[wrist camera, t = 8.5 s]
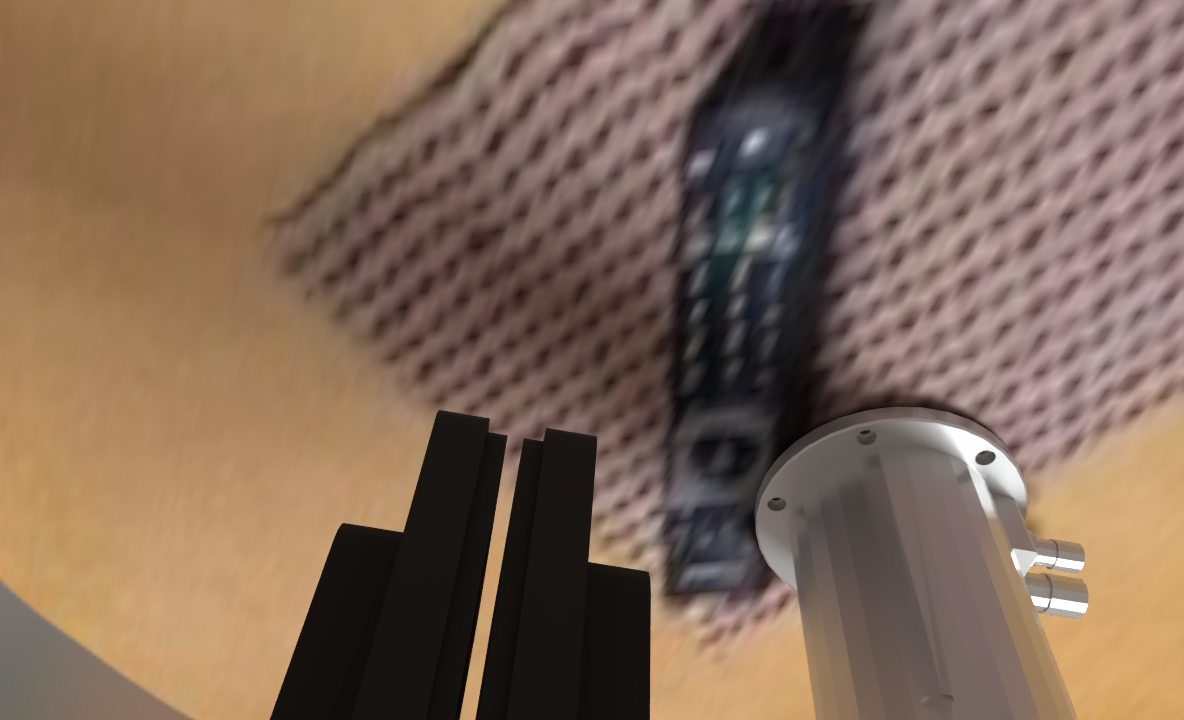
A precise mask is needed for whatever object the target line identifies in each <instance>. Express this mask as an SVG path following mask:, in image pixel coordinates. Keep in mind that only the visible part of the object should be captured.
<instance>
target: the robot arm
mask: <svg viewBox="0 0 1184 720" xmlns="http://www.w3.org/2000/svg"><path fill="white" fill-rule="evenodd" d="M489 422H490V419H489V418H483V417H477V416H471V415H465V414H459V413H453V412H447V411H441V410H439V411H438V412H437V415H436V418H435V422H434V425H433V429H432V433H431V436H430V440H429V443H428V447H427V450H426V454H425V458H424V461H423V465H422V468H421V472H420V475H419V479H418V483H417V486H416V490H415V493H414V497H413V500H412V504H411V508H410V511H409V515H408V518H407V522H406V525H405V529H404V532H397V531H390V530H384V529H378V528H371V527H365V526H359V525H353V524H346V523H342V524H341V526H340V527H339V529H338V531H337V533H336V536H335V538H334V540H333V543H332V546H331V549H330V551H329V554H328V557H327V560H326V563H325V566H324V568H323V571H322V574H321V577H320V580H319V583H318V585H317V588H316V591H315V594H314V597H313V599H312V602H311V605H310V608H309V611H308V614H307V616H306V619H305V622H304V625H303V628H302V631H301V633H300V636H299V639H298V642H297V645H296V647H295V650H294V653H293V656H292V659H291V662H290V664H289V667H288V670H287V673H286V676H285V678H284V681H283V684H282V687H281V690H280V693H279V695H278V698H277V701H276V704H275V707H274V710H273V712H272V715H271V718H270V720H460V714H461V709H462V703H463V698H464V692H465V687H466V681H467V676H468V670H469V665H470V659H471V654H472V648H473V643H474V637H475V631H476V626H477V620H478V614H479V608H480V602H481V596H482V590H483V584H484V578H485V572H486V565H487V559H488V553H489V547H490V541H491V535H492V529H493V522H494V516H495V510H496V504H497V498H498V492H499V486H500V479H501V473H502V467H503V461H504V455H505V449H506V442H507V435H501V434H495V433H489V432H488V430H489ZM596 450H597V436H591V435H585V434H579V433H573V432H567V431H561V430H555V429H549V428H546V431H545V436H544V441H537V440H531V439H525V438H524V441H523V446H522V452H521V458H520V464H519V469H518V475H517V481H516V486H515V492H514V498H513V503H512V509H511V515H510V521H509V526H508V532H507V538H506V543H505V549H504V555H503V561H502V566H501V572H500V578H499V583H498V589H497V595H496V601H495V606H494V612H493V618H492V624H491V630H490V636H489V642H488V648H487V654H486V660H485V666H484V672H483V678H482V684H481V690H480V696H479V702H478V708H477V714H476V720H650V618H651V588H650V577H649V572H646V571H641V570H634V569H628V568H622V567H616V566H609V565H603V564H597V563H591V562H588V557H589V544H590V530H591V517H592V504H593V490H594V477H595V463H596ZM1028 504H1029V500H1028V494H1027V488H1026V483H1025V480H1024V478H1023V475H1022V473H1021V471H1020V468H1019V466H1018V463H1017V462H1016V460H1015V459H1014V457H1013V455H1012V454H1011V452H1010V451H1009V449H1008V448H1007V446H1006V445H1005V444H1004V443H1002V442H1001V441H1000V440H999V439H998V438H997V437H996V436H995V435H994V434H993V433H992V432H990V431H989V430H987V429H985V428H984V427H982V426H980V425H978V424H977V423H975V422H973V421H972V420H969V419H967V418H964V417H961V416H958V415H955V414H952V413H949V412H946V411H940V410H935V409H929V408H923V407H888V408H880V409H872V410H865V411H862V412H858V413H855V414H851V415H848V416H844V417H840V418H838V419H836V420H833V421H831V422H829V423H827V424H824V425H822V426H820V427H818V428H816V429H814V430H812V431H811V432H809V433H808V434H806V435H805V436H803V437H802V438H800V439H799V440H797V441H796V442H794V443H793V444H792V445H791V446H790V447H789V448H788V449H787V450H786V451H785V452H783V453H782V454H781V455H780V456H779V457H778V458H777V459H776V461H775V462H774V464H773V465H772V466H771V468H770V469H769V470H768V472H767V473H766V475H765V477H764V479H763V481H762V483H761V486H760V488H759V490H758V493H757V498H756V504H755V510H754V514H755V528H756V535H757V539H758V543H759V548H760V550H761V552H762V554H763V556H764V558H765V560H766V562H767V564H768V565H769V566H770V568H771V569H772V570H773V571H774V572H775V573H776V574H777V575H778V577H779V578H780V579H781V580H783V581H784V582H785V583H786V584H788V585H789V586H790V587H792V588H793V589H795V590H796V591H797V592H798V599H799V606H800V613H801V620H802V627H803V634H804V641H805V648H806V655H807V662H808V669H809V676H810V682H811V689H812V696H813V703H814V710H815V717H816V720H1078V718H1077V715H1076V712H1075V710H1074V707H1073V705H1072V702H1071V699H1070V697H1069V694H1068V692H1067V689H1066V686H1065V684H1064V681H1063V679H1062V676H1061V673H1060V671H1059V668H1058V666H1057V663H1056V660H1055V658H1054V655H1053V652H1052V650H1051V647H1050V645H1049V642H1048V639H1047V637H1046V634H1045V632H1044V629H1043V626H1042V624H1041V621H1040V619H1039V616H1038V613H1040V614H1046V615H1052V616H1058V617H1064V618H1071V619H1079V618H1081V617H1082V616H1083V615H1084V613H1085V611H1086V608H1087V605H1088V590H1087V586H1086V584H1085V583H1084V582H1083V580H1082V579H1077V578H1072V577H1065V576H1059V575H1053V574H1047V573H1041V574H1035V573H1029V572H1028V570H1029V568H1030V567H1032V565H1038V566H1044V567H1047V568H1048V569H1054V570H1060V571H1066V572H1072V573H1078V572H1079V571H1080V570H1081V569H1082V567H1083V564H1084V558H1085V554H1084V550H1083V547H1082V546H1081V545H1080V544H1078V543H1072V542H1066V541H1059V540H1052V539H1050V540H1045V539H1039V538H1036V537H1035V535H1034V533H1032V532H1031V531H1029V530H1027V527H1026V525H1025V523H1026V521H1027V513H1028ZM1037 612H1038V613H1037Z"/></svg>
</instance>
